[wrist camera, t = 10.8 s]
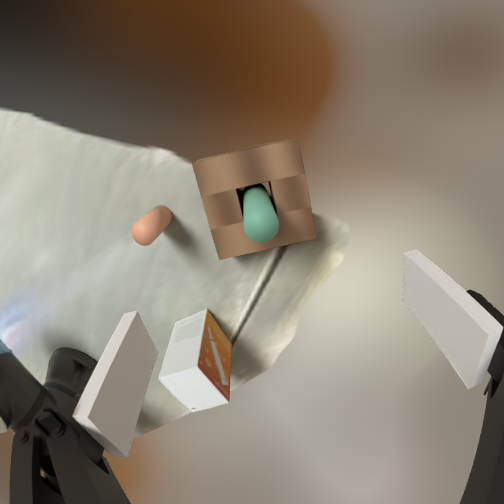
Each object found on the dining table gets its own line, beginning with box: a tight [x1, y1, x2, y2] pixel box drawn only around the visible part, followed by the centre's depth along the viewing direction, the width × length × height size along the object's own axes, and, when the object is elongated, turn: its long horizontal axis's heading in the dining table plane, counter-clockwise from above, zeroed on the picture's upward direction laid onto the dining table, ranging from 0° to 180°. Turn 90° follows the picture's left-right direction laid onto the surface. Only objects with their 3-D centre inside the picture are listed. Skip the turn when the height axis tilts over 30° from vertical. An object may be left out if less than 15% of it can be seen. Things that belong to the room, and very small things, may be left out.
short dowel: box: [132, 206, 172, 246], centre depth 35 cm, size 3×3×7 cm
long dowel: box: [244, 183, 279, 243], centre depth 31 cm, size 3×3×14 cm
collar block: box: [192, 139, 316, 260], centre depth 35 cm, size 12×12×5 cm
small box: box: [158, 309, 232, 412], centre depth 40 cm, size 8×6×13 cm
